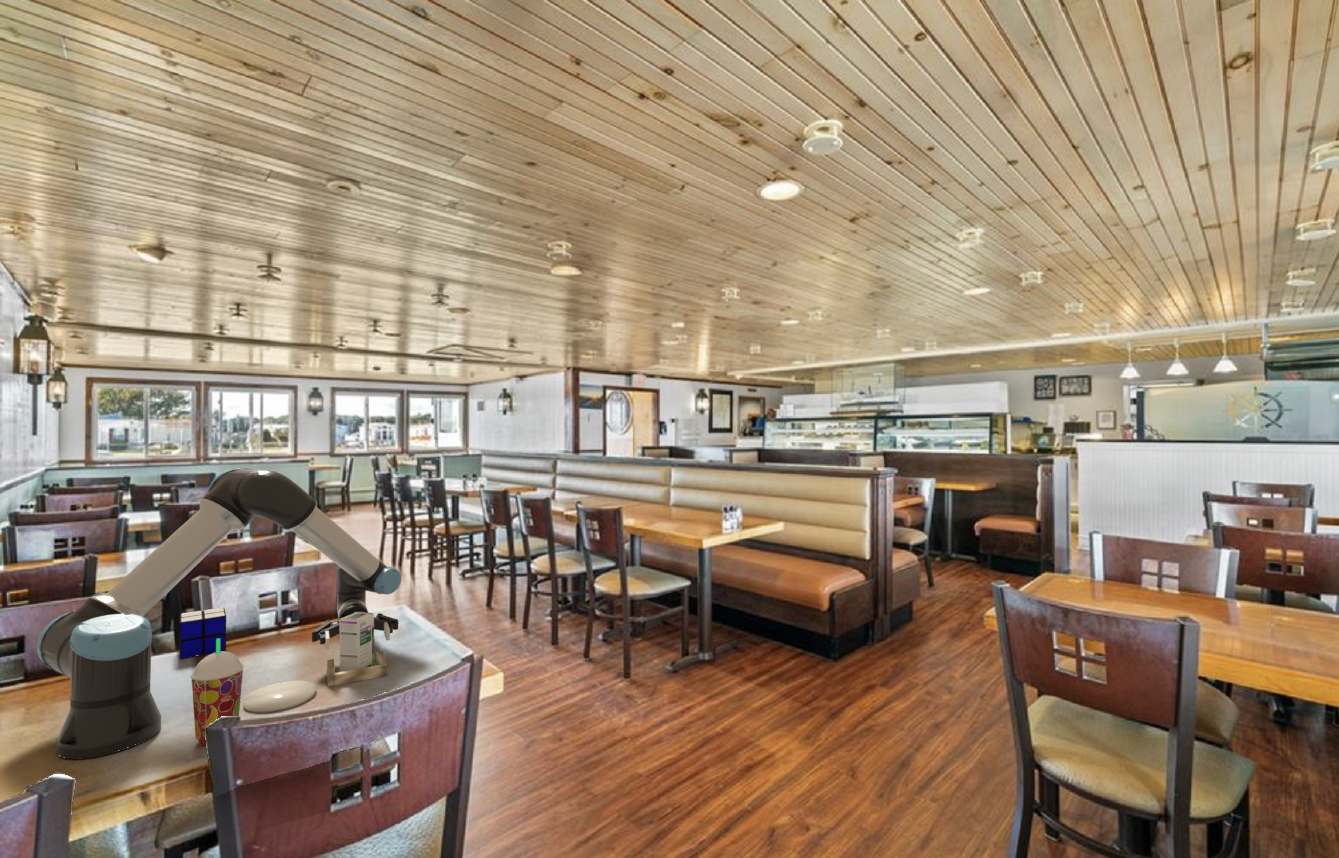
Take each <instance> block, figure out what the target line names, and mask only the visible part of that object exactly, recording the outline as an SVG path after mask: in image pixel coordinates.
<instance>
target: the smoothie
mask: <svg viewBox="0 0 1339 858" xmlns="http://www.w3.org/2000/svg"><path fill="white" fill-rule="evenodd" d="M243 671H244V664H243V663H242V662H241V660H240V658H239V657H238V656H237V655H235V654H234V653H232V652H230V651H227V650H226V651H220V638H218V639H216V652H215V653H212V654H207V655H206V656H205V657H204V658H202V659H201V660H200V661H199V663H197V664H196V667H195V669H194V671H193V672H192V673H191V675H190V678H191V689H192V691H191V692H192V704H193V718H194V719H193V720H194V732H195V735H194V736H195V739H196V740H197V741H198V743H199V745H200V744H202V745H201V746H205V747H207V746H206V740H205V729H206V727H207V726H208V725H209V724H210V723H213V722H214V721H215V720H216V719H218V718H220V717H221V716H239V717H240V710H241V709H240V708H241V697H242V696H241V695H242V686H243V684H242V683H243Z"/></svg>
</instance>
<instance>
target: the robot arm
mask: <svg viewBox="0 0 1339 858" xmlns="http://www.w3.org/2000/svg"><path fill="white" fill-rule="evenodd" d="M207 489H208V490H207V493H206V494H205V495H204V496H203V497H202V498H200V500H199V510H198V511H196V512H195V513H194V514H193V515H192V516H191V517H190V518H189V519H188V520H186V521H185V522H184V523H183V524H182V525H181V526H180V527H178V529H176V530H175V531H174V532H173V533H172V534H171V535H170V536H169V537H168V538H167V539H165V541H163V542H161V544H160V545H159V546H158V547H156V548H155V549H154V550H153V551H151V553H149V554H148V555H147V557H145V558H144V559H143V560H142V561H140V563H139V564H138V565H136V566H135V568H133V569H132V570H131V571H130V572H129V573H127V574H126V575H125V576H124V577H123V578H122V579H121V580H119V581H118V583H117V584H115V585H114V586H113V587H112V588H111V589H110V590H109V591H107V592H106V593H104V594H101V595H95V596H90V597H89V598H88V599H87V600H86V601H85V602H84V603H82V604H81V605H80V606H79V607H78V608H77V609H76V610H74V611H69V612H66V613H63V614H60V615H59V616H57V617H56V618H54V619H53V620H51V621H50V622H49V623H48V624H47V625H46V626H45V627H44V628H43V630H42V631H41V632H40V634H39V637H38V639H37V644H36V653H37V655H38V658H39V659H40V661H42V662H43V663H44V666H46V667H47V668H48V669H50V670H52V671H54V672H56V673H60V674H62V675H63V676H66V677H67V678H69V679H70V687H69V688H70V689H69V690H70V693H69V694H70V696H69V697H70V698H69V699H70V703H69V705H70V707H69V711H68V714H67V716H66V718H65V720H64V724H63V726H62V728H61V730H60V733H59V735H58V737H57V740H56V755H57V754H58V755H60V756H61V757H65V758H71V759H70V760H84V759H83V758H86V759H92V757H93V758H97V757H103V756H107V754H108V755H111V753H112V754H115V753H116V752H115V751H118V750H122V749H125V748H127V747H130V748H132V747H131V746H133V745H135V744H138V743H140V742H142V741H144V740H146V741H147V739H148V738H149V739H151V738H152V737H154V736H155V735H156V734H158V733H159V732H160V730H161V729H162V715H161V713H160V709H159V708H158V706H157V703H156V701H155V699H154V697H153V694H152V691H151V679H152V678H151V674H152V673H151V672H152V670H151V669H152V668H151V667H152V640H153V633H152V625H151V623H150V621H149V620H148V619H147V618H146V617H145V615H147V614H148V612H150V610H152V608H153V607H155V606H156V605H157V604H158V603H159V602H160V601H161V600H162V599H163V598H164V597H165V596H166V595H167V594H168V593H169V592H171V590H172V589H173V588H175V587H176V585H178V583H180V581H181V580H183V579H184V578H185V577H186V576H187V575H188V574H189V573H190V572H191V571H192V570H194V568H195V567H196V566H197V565H198V564H200V562H202V561H203V559H204V558H206V556H207V555H209V554H210V553H211V552H212V551H213V550H214V549H215V548H216V547H217V546H218V545H219V544H220V543H221V542H222V541H224V539H225V538H226V537H227V536H228V535H229V534H230V533H232V532H234V531H235V532H236V531H243V530H244V529H245V528H246V527H247V526H248V525H249V524H250V523H251V522H252V521H253V520H254V519H255V518H262V519H265V520H268V521H270V522H273V523H274V524H276V525H278V526H280V527H281V528H282V529H283V530H286V531H289V530H292V531H293V532H294V533H295V534H297V535H298V536H300V537H301V538H302V539H304V541H306V542H307V543H308V544H310V545H311V546H313V547H314V548H315V549H316V550H318V551H319V552H320V553H321V554H322V555H324V556H325V557H327V558H328V559H329V560H331V562H332V563H335V564H336V565H337V568H336V572H337V593H336V598H337V599H336V601H337V602H336V608H335V609H336V612H337V617H338V619H337V621H336V622H334V621H333V620H332V619H328V620H326V621H325V623H324V624H323V623H322V625H320V626H318V627H316V628H315V629H314V630H313V631H311V642H312V643H316V642H317V641H319V645H325V651H327V650H330V639H331V638H334V637H336V636H338V635H340V630H339V628H340V627H339V619H341V618H344V617H346V616H348V615H351V614H353V613H355V612H368V613H369V611H368V610H369V609H368V607H367V602H366V601H367V600H366V597H367V592H370V593H373V594H374V593H375V594H378V595H391V594H394V593H395V592H396V591H397V590H398V589H399V587H400V585H401V583H402V574H401V572H400V571H399V570H398V569H397V568H394V567H393V566H387V565H386V564H384V563H383V562H382V561H381V560H379V559H378V558H377V557H376V556H375V555H374V554H373V553H371V552H370V551H368V549H366V547H364V546H363V545H362V544H360V543H359V542H358V541H357V540H356V539H354V538H353V536H351V535H350V534H349V533H348V532H346V531H345V529H343V528H341V526H339V525H338V524H337V523H336V522H335V521H333V519H332V518H330V517H329V516H328V515H327V514H326V513H324V512H323V511H322V510H321V509H320V508H318V507H317V505H318V502H317V500H315V499H314V498H313V496H311V495H310V494H309V493H307V492H306V491H305V489H303V488H302V487H300V485H299V484H297V483H296V482H294V481H293V480H292V479H290V478H289V477H287V476H286V475H284V474H282V473H280V472H278V471H275V470H268V469H267V470H266V469H254V468H248V467H241V468H240V467H239V468H238V467H237V468H232V469H228V470H226V471H223V472H222V473H220V474H218V475H217V476H215V477H214V479H213V480H212V481H211V482H210V484H209V485H208V488H207ZM394 630H395V631H397V630H399V619H397V618H393V617H391V616H387V615H384V614H383V613H381V612H379V613H377V615H375V616H374V631H382V632H383V634H384V636H385V637H384V638H385V640H386V641H390V639H391V635H390V634H393V633H394ZM150 737H151V738H150ZM149 739H148V740H149ZM144 742H145V741H144ZM142 743H143V742H142ZM140 744H141V743H140ZM138 745H139V744H138ZM135 746H136V745H135ZM133 747H134V746H133ZM125 750H126V749H125ZM122 751H123V750H122ZM114 752H115V753H114ZM118 752H119V751H118ZM58 755H57V756H58ZM61 757H60V758H61ZM65 758H64V759H65ZM79 758H81V759H79Z"/></svg>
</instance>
